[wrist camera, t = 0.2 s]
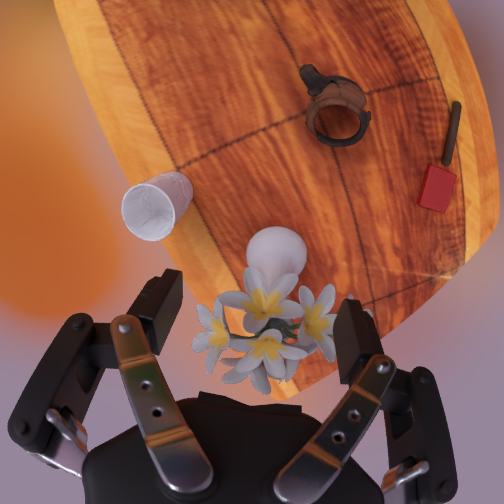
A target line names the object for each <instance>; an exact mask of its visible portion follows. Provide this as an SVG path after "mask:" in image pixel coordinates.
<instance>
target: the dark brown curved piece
mask: <svg viewBox="0 0 504 504" xmlns="http://www.w3.org/2000/svg"><path fill="white" fill-rule="evenodd" d="M300 76H301V78H302V80H303V81H304V83H305V84H306V85H307V87H308V94H309V95H311V96H313V97H315V96H317V99H316V100H315V101H314V100H312V99H311V100H310V102H309V105H308V108H307V112H306V122H305V124H306V126H307V128H308V129H309V130H310V131H311V132H312V133H313V134H315V135H316V136H317V139H318V140H319V141H320V142H322V143H324V144H327V145H329V146H333V147H347V146H350V145H353V144H355V143H357V142H358V141H359V140H361V139H362V137H363V136H364V134H365V132H366V128H367V126H368V125H369V122H370V120H371V112H370V111H368V112H365V111H363V110H361V108H362V107H363V106H364V105H365V104H366V103H367V101H366V96H365V95H364V92H363V91H362V89H361V88H360V87H359V86H358V84H356V83H355V82H353V81H351V80H350V79H348V78H345V77H342V76H324V75H322V74H320V73H319V72H318V71H317V69H316V68H315V67H314V66H313V65H312V64H308V65H303V66H301V68H300ZM331 82H334V83H331ZM330 105H341V106H345V107H348V108H349V109H351V110H352V111H354V112H355V113H356V114H357V116H358V117H359V120H360V128H359V130H358V132H357V133H356V134H355V135H353V136H352V137H350V138H347V139H332V138H328V137H326V136H324V135H323V134H321V133H320V132H318V131H317V129H316V128H315V116H316V114H317V113H318V112H319V111H320V110H321V108H324V107H326V106H330Z"/></svg>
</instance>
